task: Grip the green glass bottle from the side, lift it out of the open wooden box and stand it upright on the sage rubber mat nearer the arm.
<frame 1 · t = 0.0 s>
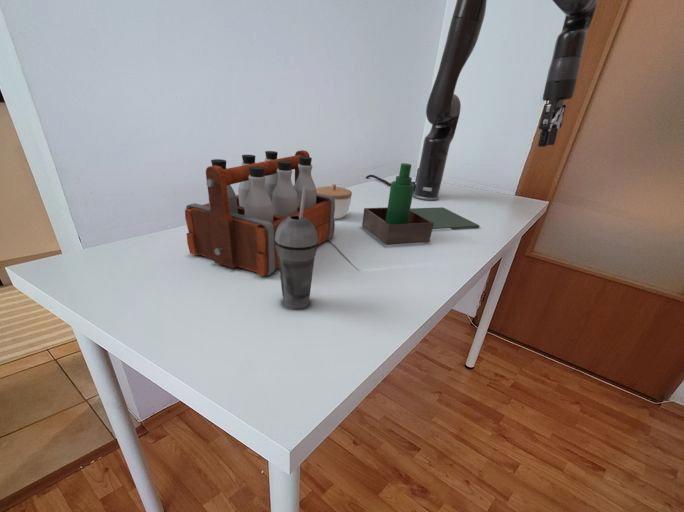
hand: (546, 145, 109), 22 cm above the table, tool pointing down, fingers open, 8 cm apart
mat: (436, 219, 117), on the table
bottle: (394, 233, 101), resting on open wooden box
trinket box: (332, 218, 111), on the table
milk bottle holder: (268, 246, 88), on the table
beverage cup: (296, 304, 67), on the table
open wooden box: (394, 235, 101), on the table
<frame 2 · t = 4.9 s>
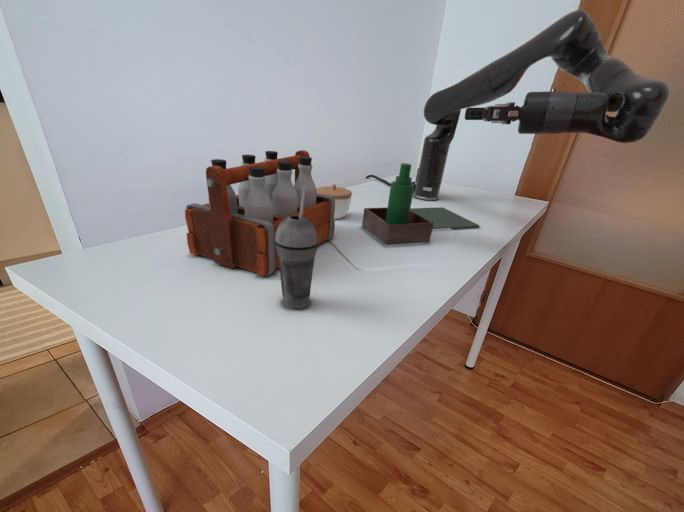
hand: (466, 113, 81), 30 cm above the table, tool horizontal, fingers open, 8 cm apart
nothing on the table moved.
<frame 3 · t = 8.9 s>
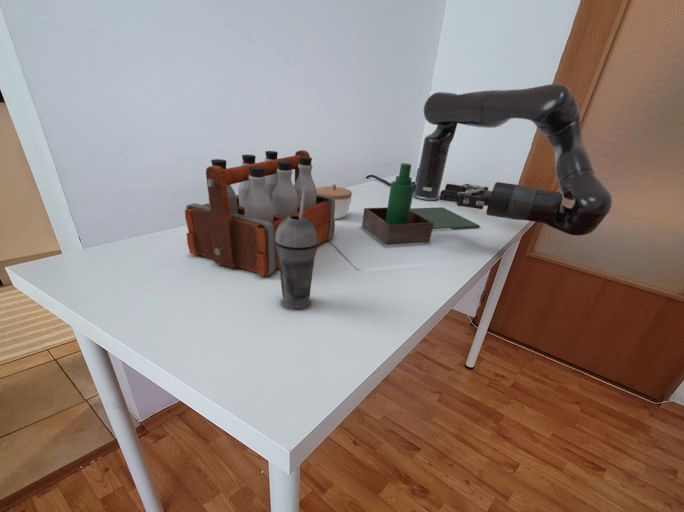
hand: (442, 191, 91), 13 cm above the table, tool horizontal, fingers open, 8 cm apart
nothing on the table moved.
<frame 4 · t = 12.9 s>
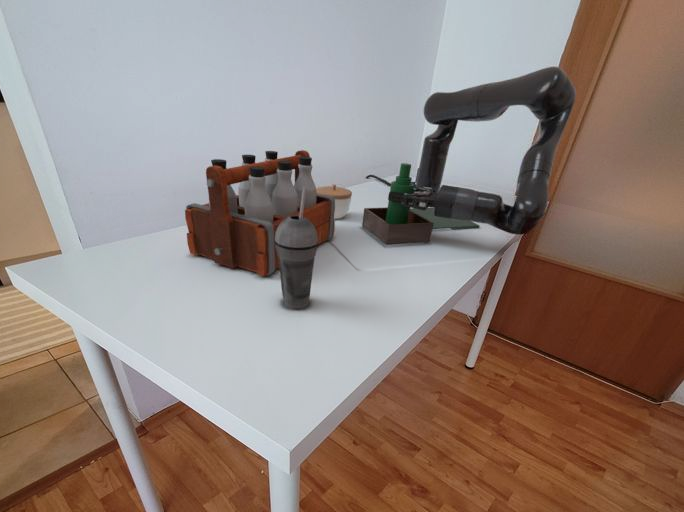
hand: (392, 193, 95), 11 cm above the table, tool horizontal, fingers closed on bottle, 6 cm apart
bottle: (394, 233, 101), point 1 cm above the table, touching open wooden box, gripper
everything else where it was.
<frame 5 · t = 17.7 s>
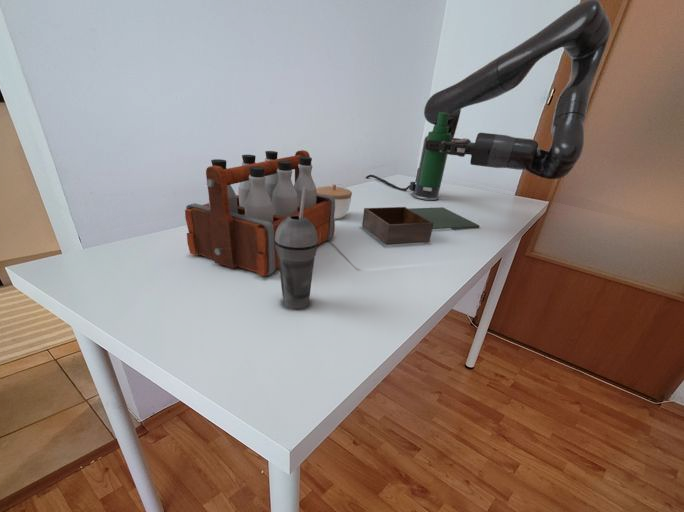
hand: (428, 143, 99), 22 cm above the table, tool horizontal, fingers closed on bottle, 6 cm apart
bottle: (429, 185, 104), point 11 cm above the table, touching gripper
everything else where it was.
when the fingers open (11 cm above the table, at t = 22.5 s): bottle stays where it is, resting on mat.
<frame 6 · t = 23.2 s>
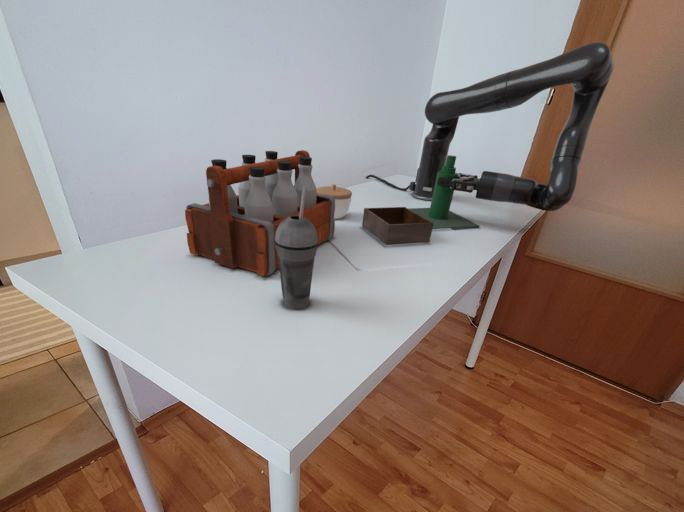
hand: (440, 178, 111), 12 cm above the table, tool horizontal, fingers open, 8 cm apart
bottle: (437, 216, 117), point 1 cm above the table, touching mat
everything else where it was.
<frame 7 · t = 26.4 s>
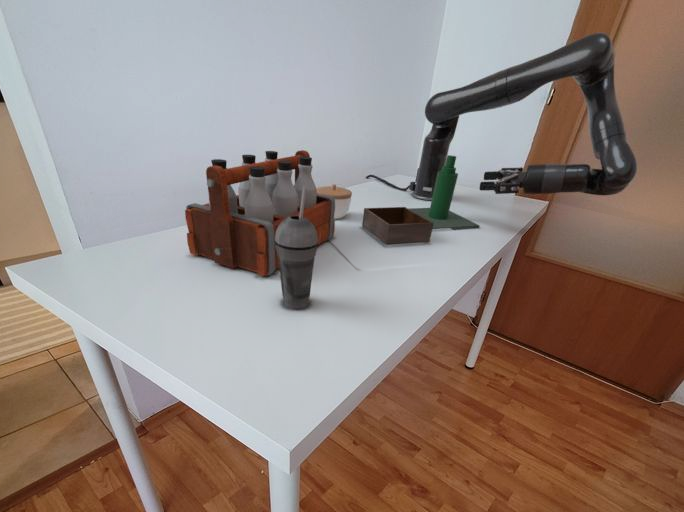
hand: (481, 181, 107), 13 cm above the table, tool horizontal, fingers open, 8 cm apart
nothing on the table moved.
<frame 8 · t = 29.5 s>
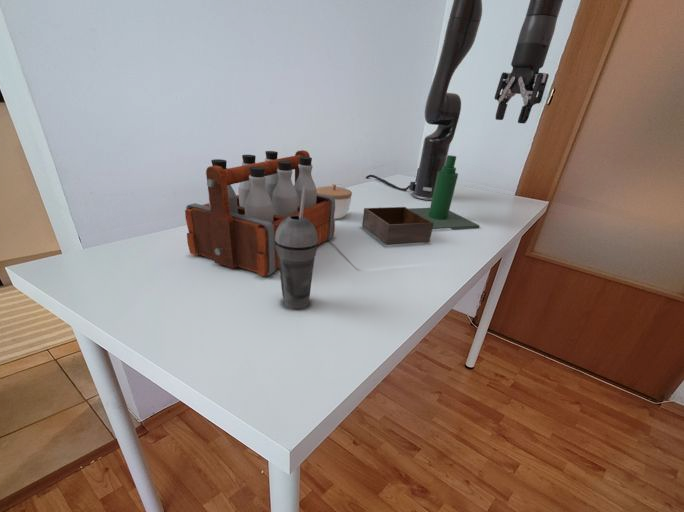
hand: (509, 121, 97), 28 cm above the table, tool pointing down, fingers open, 8 cm apart
nothing on the table moved.
at the end: bottle inside the target area on the mat (0.1 cm from its centre), point 0.8 cm above the mat's base; bottle tilted 0°; bottle touching mat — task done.
